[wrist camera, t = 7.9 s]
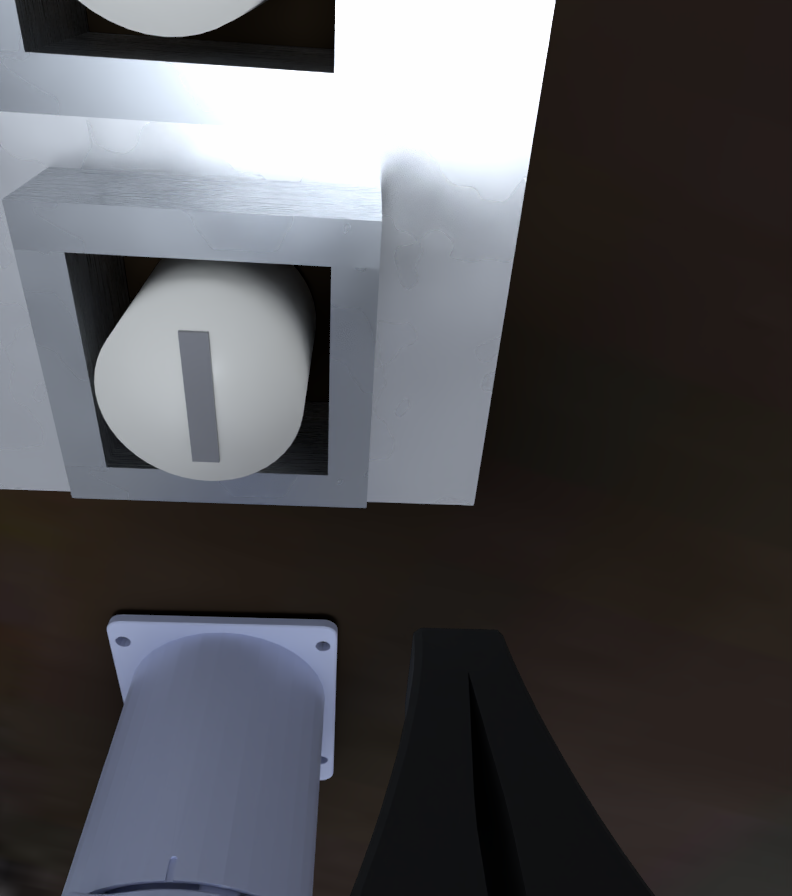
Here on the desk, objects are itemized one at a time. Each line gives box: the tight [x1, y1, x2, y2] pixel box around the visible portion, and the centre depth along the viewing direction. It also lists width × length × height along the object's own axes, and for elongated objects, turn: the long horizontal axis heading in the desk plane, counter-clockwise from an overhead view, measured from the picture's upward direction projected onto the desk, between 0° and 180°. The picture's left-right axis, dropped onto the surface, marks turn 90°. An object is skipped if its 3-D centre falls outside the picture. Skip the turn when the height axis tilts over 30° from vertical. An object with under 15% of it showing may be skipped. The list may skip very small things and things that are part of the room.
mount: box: [0, 0, 555, 508], centre depth 15 cm, size 20×14×4 cm
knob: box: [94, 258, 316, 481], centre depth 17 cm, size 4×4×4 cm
